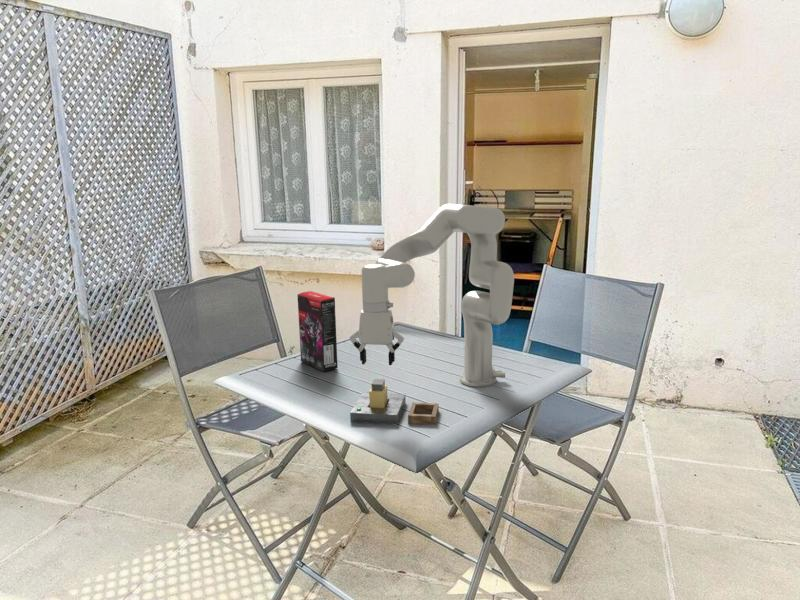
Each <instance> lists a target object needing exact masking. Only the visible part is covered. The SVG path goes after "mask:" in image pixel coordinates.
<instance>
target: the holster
mask: <svg viewBox="0 0 800 600" xmlns="http://www.w3.org/2000/svg"><path fill="white" fill-rule="evenodd" d="M439 409H440V408H439V403H435V402H434V403H433V402H411V406H410V408H409V411H408V414H407V423H408V424H415V425H432V426H433V425H436V423H437V420H438V415H439ZM417 413H418V414H417ZM420 413H421V414H420ZM422 413H423V414H422ZM424 413H431V414H424Z"/></svg>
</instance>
